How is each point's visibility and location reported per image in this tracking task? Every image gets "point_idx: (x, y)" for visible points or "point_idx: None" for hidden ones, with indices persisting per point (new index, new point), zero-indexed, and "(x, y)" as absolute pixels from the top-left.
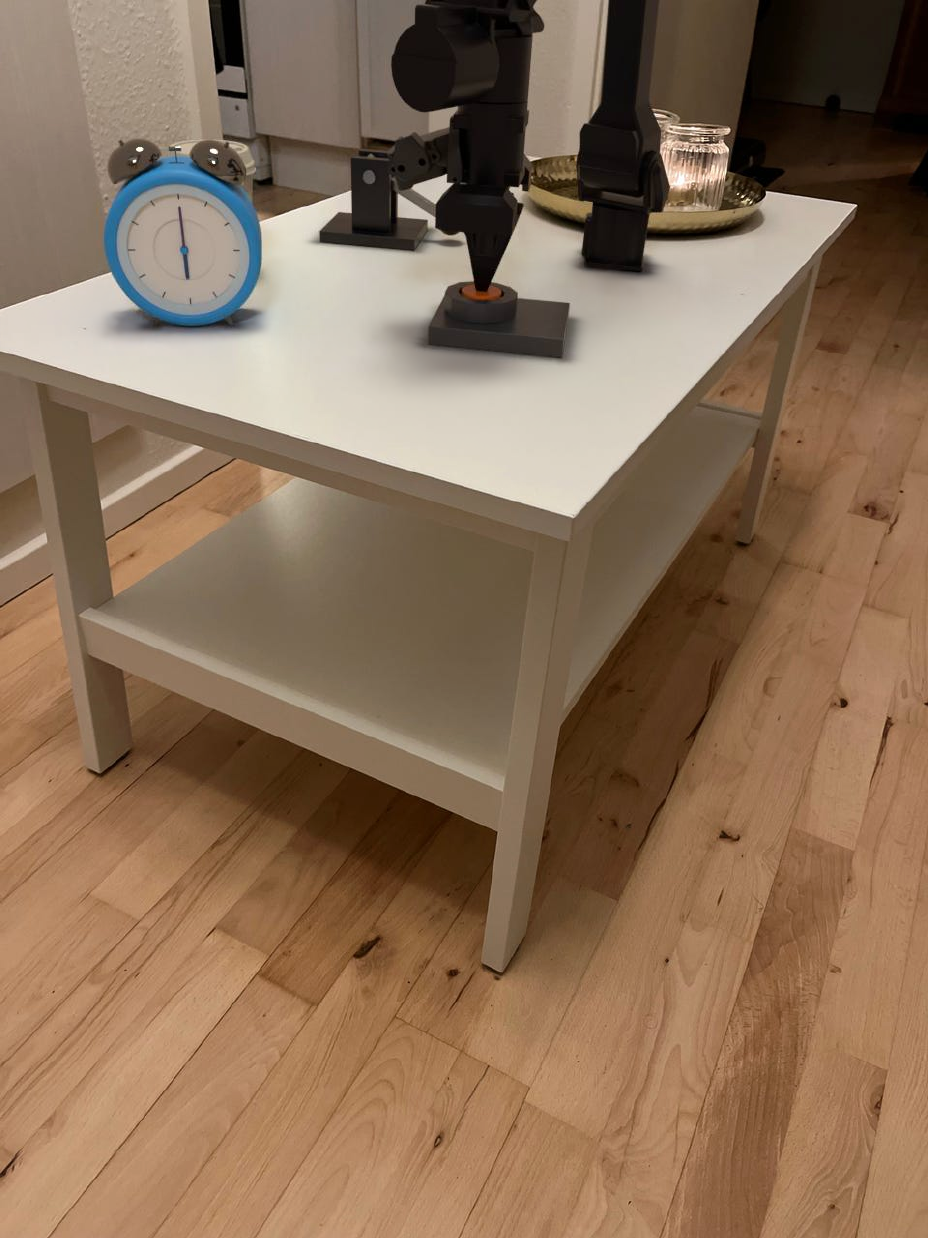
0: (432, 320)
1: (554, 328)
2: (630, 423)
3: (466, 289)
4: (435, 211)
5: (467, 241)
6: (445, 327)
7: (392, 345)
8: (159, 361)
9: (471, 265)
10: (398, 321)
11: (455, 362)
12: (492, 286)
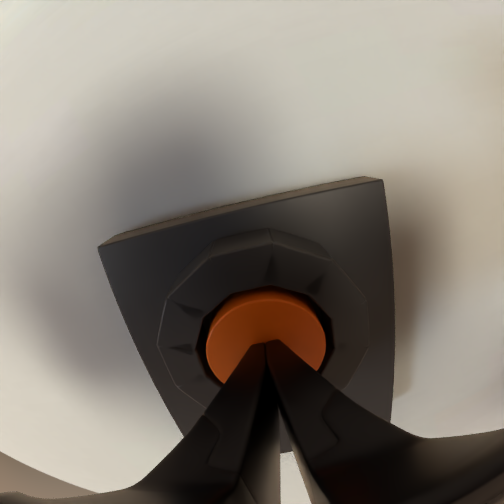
0: (132, 240)
1: None
2: (89, 483)
3: (252, 315)
4: None
5: (163, 463)
6: (112, 286)
7: (76, 170)
8: None
9: (219, 391)
10: (219, 104)
11: (76, 315)
12: (315, 364)
